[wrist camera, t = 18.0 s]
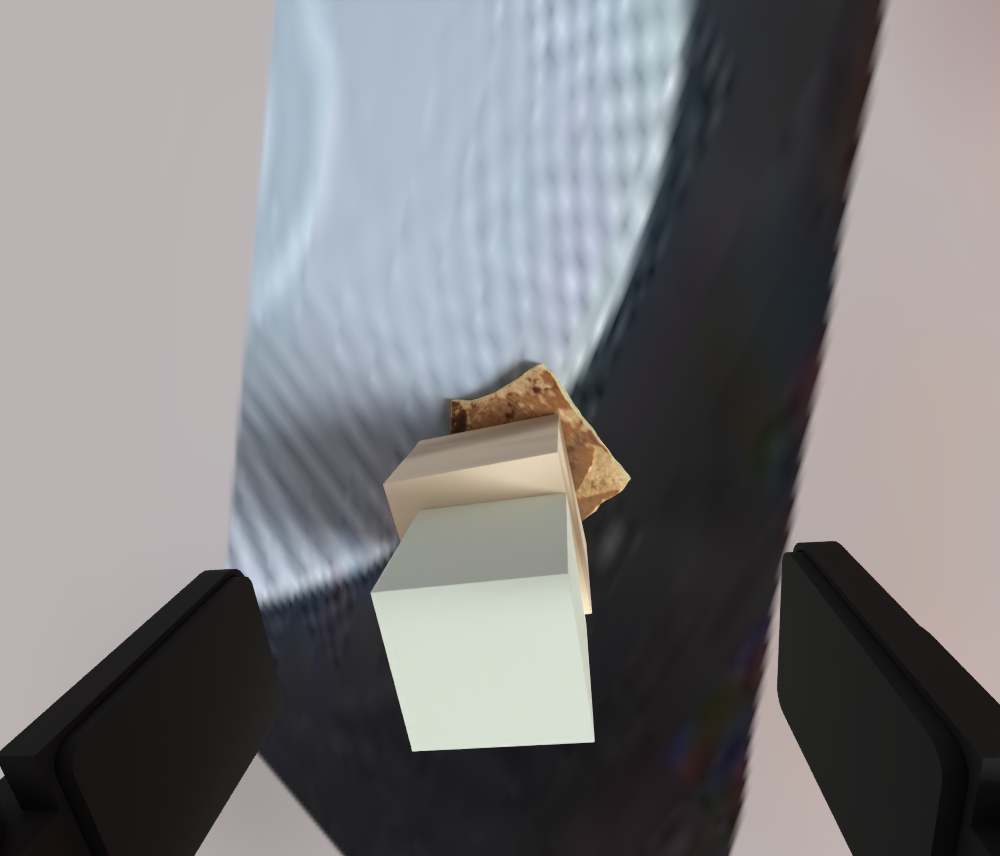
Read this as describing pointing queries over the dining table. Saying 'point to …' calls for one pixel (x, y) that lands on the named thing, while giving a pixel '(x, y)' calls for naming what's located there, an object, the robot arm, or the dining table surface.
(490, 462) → the beige metal block
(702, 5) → the dining table surface
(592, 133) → the dining table surface
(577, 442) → the shard
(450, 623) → the sage block
